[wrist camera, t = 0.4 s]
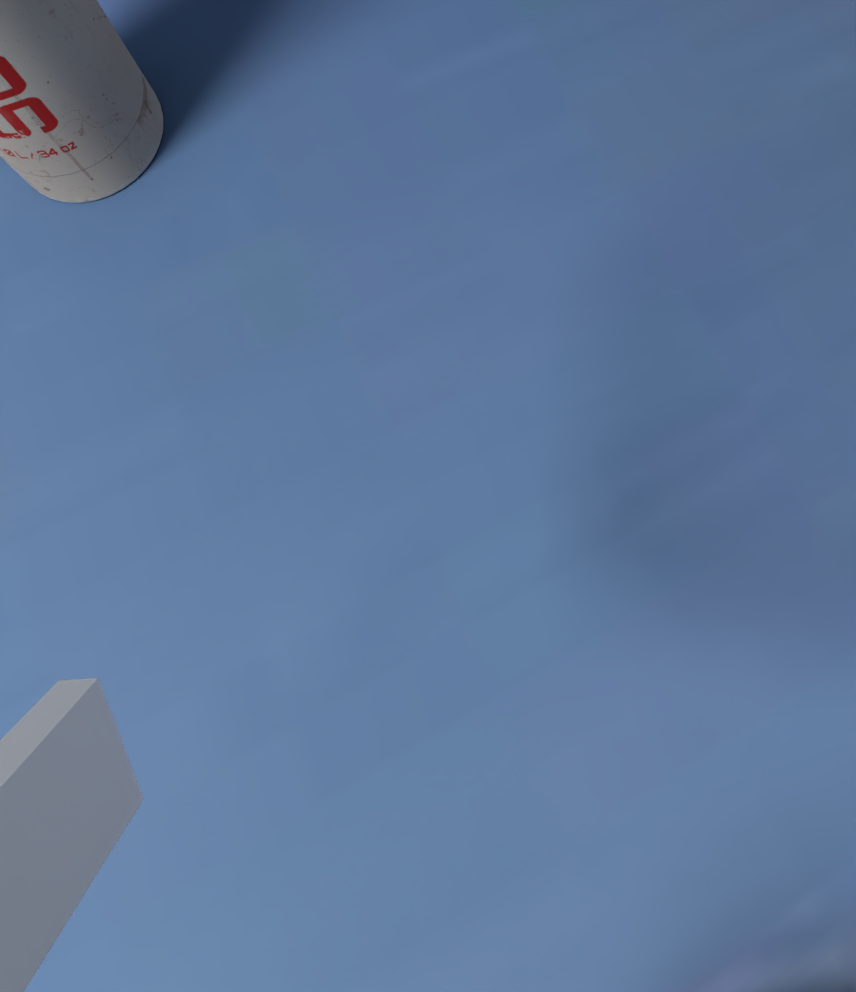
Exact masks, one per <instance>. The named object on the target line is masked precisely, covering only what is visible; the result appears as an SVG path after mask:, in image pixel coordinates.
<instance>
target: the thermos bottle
mask: <svg viewBox="0 0 856 992" xmlns="http://www.w3.org/2000/svg"><path fill="white" fill-rule="evenodd" d="M162 134H163V114H162V109H161V105H160V102H159V100H158V98H157V96H156V94H155V93H154V91H153V89H152V88H151V86H150V85H149V83H148V81H147V80H146V78H145V77H144V75H143V73H142V72H141V70H140V69H139V67H138V65H137V64H136V62H135V61H134V59H133V57H132V56H131V54H130V53H129V51H128V49H127V48H126V46H125V45H124V43H123V41H122V40H121V38H120V37H119V35H118V33H117V32H116V30H115V29H114V27H113V26H112V24H111V22H110V21H109V19H108V18H107V16H106V14H105V13H104V11H103V10H102V8H101V6H100V5H99V3H98V2H97V0H0V156H1V157H2V158H3V159H4V160H5V161H6V162H7V163H8V164H9V165H10V166H11V167H12V168H13V169H14V170H15V171H16V172H17V173H18V174H19V175H20V176H21V177H23V178H24V179H25V180H26V181H27V182H28V183H29V184H30V185H31V186H32V187H33V188H35V189H36V190H37V191H38V192H39V193H41V194H43V195H45V196H47V197H49V198H51V199H54V200H58V201H62V202H67V203H84V202H90V201H96V200H99V199H102V198H105V197H108V196H111V195H113V194H114V193H116V192H118V191H120V190H122V189H124V188H125V187H126V186H128V185H129V184H130V183H132V182H133V181H135V180H136V179H137V178H138V177H139V176H140V175H141V174H142V173H143V172H144V170H145V169H146V168H147V167H148V165H149V164H150V162H151V161H152V159H153V158H154V156H155V154H156V152H157V150H158V148H159V145H160V142H161V138H162Z"/></svg>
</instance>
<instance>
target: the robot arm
mask: <svg viewBox="0 0 856 992" xmlns="http://www.w3.org/2000/svg"><path fill="white" fill-rule="evenodd" d="M142 801H143V796H142V794H141V791H140V788H139V786H138V783H137V780H136V778H135V775H134V772H133V770H132V767H131V764H130V762H129V759H128V756H127V754H126V751H125V748H124V746H123V743H122V740H121V738H120V735H119V732H118V730H117V727H116V724H115V722H114V719H113V716H112V714H111V711H110V708H109V706H108V703H107V700H106V698H105V695H104V692H103V690H102V687H101V684H100V682H99V679H98V678H93V679H78V680H63V681H58V682H57V683H56V684H55V685H54V686H53V687H52V688H51V689H50V690H49V691H48V692H47V693H46V694H45V695H44V696H43V697H42V698H41V699H40V700H39V701H38V702H37V703H36V704H35V705H34V706H33V707H32V708H31V709H30V710H29V711H28V712H27V714H26V715H25V716H24V717H23V718H22V719H21V720H20V721H19V722H18V723H17V724H16V725H15V726H14V727H13V728H12V729H11V730H10V731H9V732H8V733H7V734H6V735H5V736H4V737H3V738H2V739H1V740H0V992H24V990H25V989H26V987H27V986H28V984H29V982H30V981H31V979H32V978H33V976H34V974H35V973H36V971H37V970H38V968H39V966H40V965H41V963H42V961H43V960H44V958H45V957H46V955H47V953H48V952H49V950H50V949H51V947H52V945H53V944H54V942H55V941H56V939H57V937H58V936H59V934H60V933H61V931H62V929H63V928H64V926H65V924H66V923H67V921H68V920H69V918H70V916H71V915H72V913H73V912H74V910H75V908H76V907H77V905H78V904H79V902H80V900H81V899H82V897H83V896H84V894H85V892H86V891H87V889H88V888H89V886H90V884H91V883H92V881H93V879H94V878H95V876H96V875H97V873H98V871H99V870H100V868H101V867H102V865H103V863H104V862H105V860H106V859H107V857H108V855H109V854H110V852H111V851H112V849H113V847H114V846H115V844H116V842H117V841H118V839H119V838H120V836H121V834H122V833H123V831H124V830H125V828H126V826H127V825H128V823H129V822H130V820H131V818H132V817H133V815H134V814H135V812H136V810H137V809H138V807H139V805H140V804H141V802H142Z"/></svg>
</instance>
